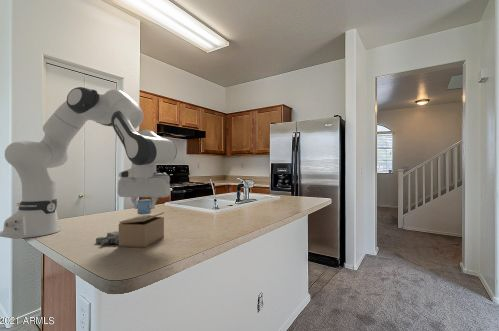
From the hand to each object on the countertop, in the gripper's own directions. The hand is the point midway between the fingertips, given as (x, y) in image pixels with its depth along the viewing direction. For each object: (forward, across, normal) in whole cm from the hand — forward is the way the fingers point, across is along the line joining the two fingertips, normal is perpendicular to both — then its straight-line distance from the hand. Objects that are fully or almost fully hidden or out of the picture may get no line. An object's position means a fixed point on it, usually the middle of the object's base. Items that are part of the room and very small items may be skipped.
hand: (144, 208), depth 97 cm
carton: (+12, 0, +1) cm, 12 cm away
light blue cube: (+2, 0, 0) cm, 2 cm away
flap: (+3, 0, +1) cm, 4 cm away
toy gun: (+13, +11, -4) cm, 18 cm away
